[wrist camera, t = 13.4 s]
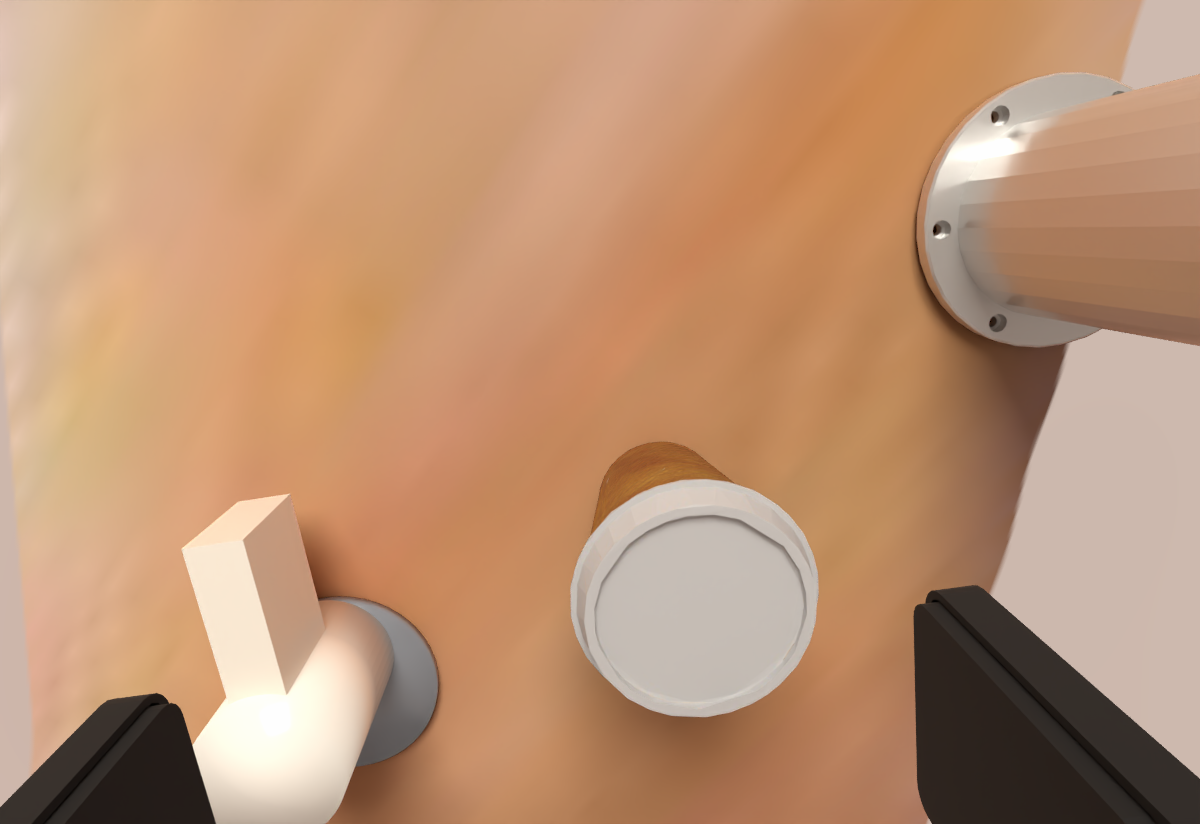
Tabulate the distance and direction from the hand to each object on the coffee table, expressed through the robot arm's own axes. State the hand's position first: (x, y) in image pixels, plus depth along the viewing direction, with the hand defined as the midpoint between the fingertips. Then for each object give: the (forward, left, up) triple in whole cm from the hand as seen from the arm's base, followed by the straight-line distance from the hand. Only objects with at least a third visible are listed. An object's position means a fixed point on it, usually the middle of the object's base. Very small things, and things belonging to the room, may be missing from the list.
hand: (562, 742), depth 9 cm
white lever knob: (+14, +11, -27) cm, 33 cm away
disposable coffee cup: (-4, +8, -28) cm, 30 cm away
